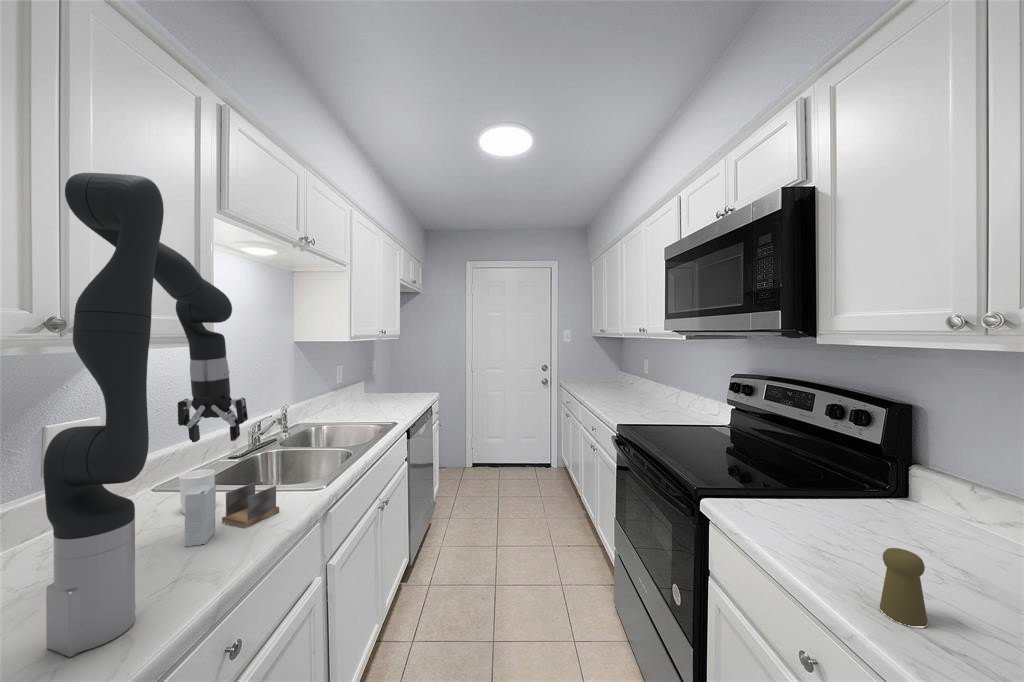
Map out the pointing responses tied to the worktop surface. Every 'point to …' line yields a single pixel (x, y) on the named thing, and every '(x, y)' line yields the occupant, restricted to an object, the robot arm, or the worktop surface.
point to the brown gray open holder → (249, 506)
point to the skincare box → (200, 515)
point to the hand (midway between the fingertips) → (215, 440)
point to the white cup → (194, 482)
